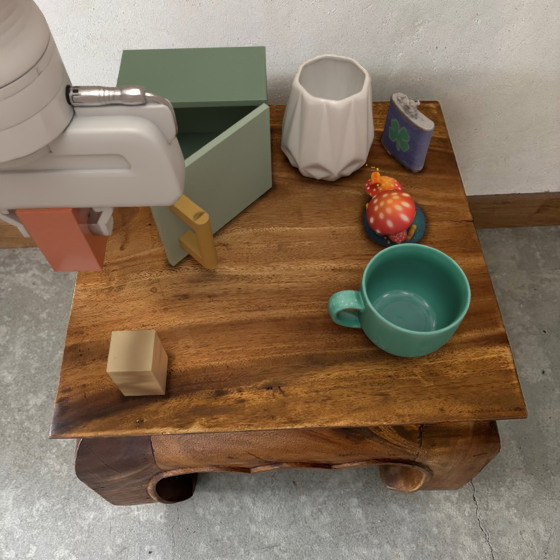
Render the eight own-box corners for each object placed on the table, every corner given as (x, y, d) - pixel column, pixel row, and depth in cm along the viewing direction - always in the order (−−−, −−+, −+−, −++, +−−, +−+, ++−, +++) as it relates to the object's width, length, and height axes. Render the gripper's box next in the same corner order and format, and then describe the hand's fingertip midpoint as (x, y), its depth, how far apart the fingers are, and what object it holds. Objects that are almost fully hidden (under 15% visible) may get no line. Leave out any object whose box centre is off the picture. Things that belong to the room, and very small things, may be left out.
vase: (376, 132, 90) (391, 52, 77) (361, 197, 83) (375, 120, 70) (293, 118, 92) (294, 37, 79) (271, 180, 85) (269, 103, 72)
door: (301, 207, 82) (303, 128, 69) (201, 292, 75) (183, 222, 61) (267, 183, 85) (263, 102, 71) (168, 262, 77) (143, 189, 64)
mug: (441, 280, 75) (459, 240, 67) (459, 365, 69) (482, 332, 61) (320, 284, 75) (324, 245, 67) (328, 370, 69) (333, 338, 61)
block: (54, 272, 46) (14, 212, 39) (63, 233, 48) (26, 170, 41) (102, 271, 46) (71, 211, 39) (109, 232, 48) (80, 169, 41)
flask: (425, 169, 86) (441, 116, 77) (410, 176, 85) (425, 123, 76) (390, 133, 90) (401, 78, 81) (375, 139, 89) (385, 85, 80)
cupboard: (269, 182, 85) (266, 99, 71) (140, 185, 85) (112, 103, 71) (268, 131, 91) (265, 45, 77) (147, 134, 90) (122, 49, 77)
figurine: (429, 256, 77) (444, 220, 70) (362, 255, 78) (370, 218, 70) (421, 191, 84) (433, 151, 76) (359, 189, 84) (366, 150, 77)
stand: (124, 396, 67) (105, 371, 60) (129, 358, 70) (111, 330, 63) (165, 394, 67) (151, 370, 61) (168, 357, 70) (155, 329, 63)
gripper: (172, 51, 34) (201, 196, 46) (-160, 58, 34) (-45, 201, 46) (164, 124, 31) (197, 259, 42) (-204, 131, 30) (-68, 265, 42)
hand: (70, 229), depth 44 cm, fingers closed on block, 4 cm apart
